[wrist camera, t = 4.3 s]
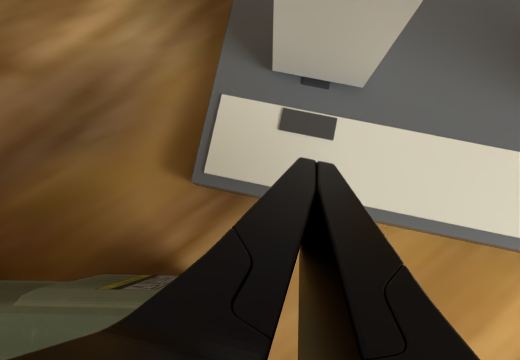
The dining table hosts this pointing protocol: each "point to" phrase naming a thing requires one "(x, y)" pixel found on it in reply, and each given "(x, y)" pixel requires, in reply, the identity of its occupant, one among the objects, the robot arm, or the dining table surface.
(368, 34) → the lever
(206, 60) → the dining table surface
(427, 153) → the switch bank
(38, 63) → the dining table surface
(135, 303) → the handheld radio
